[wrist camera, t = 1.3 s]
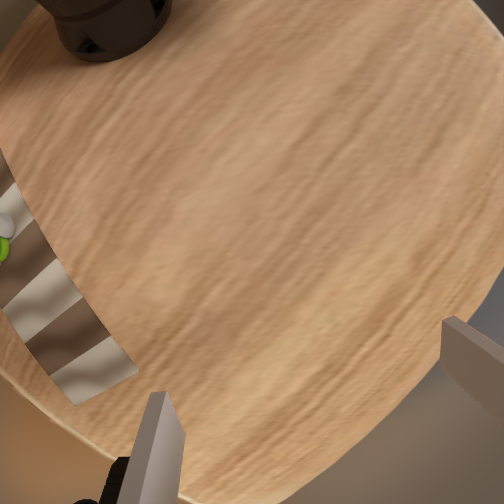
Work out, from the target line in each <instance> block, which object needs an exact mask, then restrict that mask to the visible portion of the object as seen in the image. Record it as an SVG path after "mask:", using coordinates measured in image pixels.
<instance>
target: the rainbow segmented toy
mask: <svg viewBox="0 0 504 504" xmlns="http://www.w3.org/2000/svg"><path fill="white" fill-rule="evenodd" d="M14 232H15V224H14V221H13V219H12V218H11V217H10V216H9V215H8V214H6V213H0V265H1V262H2V261H4V260H5V259H6V258H7V256H8V253H9V241H8V238H11V237H12V236H13V235H14Z"/></svg>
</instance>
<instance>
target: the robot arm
mask: <svg viewBox="0 0 504 504" xmlns="http://www.w3.org/2000/svg"><path fill="white" fill-rule="evenodd" d="M36 1H37V2H38V3H39V4H40V5H41V6H42V7H43V8H45V9H46V10H47V11H48V12H49V13H50V14H51V15H52V16H53V17H54V20H55V24H56V27H57V31H58V34H59V37H60V40H61V42H62V43H63V45H64V46H65V47H66V48H67V49H68V50H69V51H70V52H71V53H72V54H74V55H75V56H76V57H78V58H80V59H82V60H85V61H90V62H106V61H111V60H115V59H119V58H121V57H124V56H126V55H129V54H131V53H133V52H134V51H136V50H138V49H139V48H141V47H142V46H144V45H145V44H146V43H148V42H149V41H150V40H151V39H152V38H153V37H154V36H155V35H156V34H157V33H158V32H159V31H160V30H161V28H162V27H163V26H164V24H165V22H166V21H167V19H168V17H169V14H170V11H171V7H172V0H36ZM439 367H440V368H442V369H443V370H444V371H445V372H446V373H447V374H448V375H449V376H450V377H451V378H452V379H453V380H454V381H455V382H456V383H457V384H459V385H460V386H461V387H462V388H463V389H464V390H465V391H466V392H467V393H468V394H469V395H470V396H471V397H472V398H473V399H474V400H475V401H476V402H477V403H479V404H480V405H481V406H482V407H483V408H484V409H485V410H486V411H487V412H488V413H489V414H490V415H491V416H492V417H493V418H494V419H495V420H496V421H497V422H498V423H499V424H500V425H501V426H502V427H503V428H504V348H502V347H501V346H499V345H498V344H496V343H495V342H494V341H492V340H491V339H489V338H488V337H486V336H485V335H483V334H481V333H480V332H478V331H477V330H475V329H474V328H472V327H471V326H469V325H468V324H466V323H465V322H463V321H462V320H460V319H458V318H457V317H455V316H451V317H449V318H446V319H444V320H442V333H441V350H440V363H439ZM185 435H186V434H185V432H184V430H183V427H182V425H181V423H180V421H179V419H178V416H177V414H176V412H175V410H174V407H173V405H172V403H171V400H170V398H169V396H168V393H167V391H162V392H154V393H151V394H150V397H149V400H148V403H147V406H146V409H145V412H144V415H143V418H142V421H141V424H140V427H139V430H138V434H137V437H136V440H135V443H134V446H133V450H132V453H131V456H130V457H118V459H117V460H116V461H115V462H114V463H113V464H112V466H111V468H110V471H109V474H108V476H109V477H107V480H106V485H105V486H104V489H103V492H102V495H101V498H100V501H99V504H177V498H178V489H179V481H180V473H181V465H182V457H183V450H184V442H185ZM74 504H98V503H97V502H96V501H93V500H91V499H83V500H79V501H77V502H76V503H74Z"/></svg>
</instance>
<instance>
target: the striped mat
mask: <svg viewBox="0 0 504 504" xmlns="http://www.w3.org/2000/svg"><path fill="white" fill-rule="evenodd" d="M0 213H6V214H8V215H9V216H10V217H11V218H12V219H13V221H14V224H15V232H14V235H13V236H12V237H11V238H8V241H9V253H8V256H7V258H6V259H5V260H4V261H2V262H1V265H0V308H1V309H2V311H3V312H4V314H5V315H6V317H7V319H8V320H9V322H10V323H11V325H12V326H13V328H14V329H15V331H16V332H17V334H18V335H19V336H20V338H21V339H22V341H23V342H24V344H25V345H26V346H27V348H28V349H29V350H30V352H31V353H32V355H33V356H34V357H35V359H36V360H37V361H38V362H39V364H40V365H41V366H42V368H43V369H44V370H45V371H46V373H47V374H48V375H49V376H50V378H51V379H52V380H53V381H54V382H55V384H56V385H57V386H58V387H59V388H60V390H61V391H62V392H63V393H64V394H65V395H66V396H67V398H68V399H69V400H70V401H71V402H72V403H73V404H74V405H75V406H77V405H79V404H81V403H82V402H84V401H86V400H88V399H90V398H92V397H94V396H95V395H97V394H99V393H101V392H103V391H105V390H106V389H108V388H110V387H112V386H114V385H116V384H117V383H119V382H121V381H123V380H125V379H126V378H128V377H130V376H132V375H133V374H135V373H137V372H139V369H138V368H137V367H136V365H135V364H134V363H133V362H132V361H131V359H130V358H129V357H128V356H127V355H126V353H125V352H124V351H123V350H122V348H121V347H120V346H119V345H118V343H117V342H116V341H115V340H114V338H113V337H112V336H111V334H110V333H109V332H108V331H107V329H106V328H105V327H104V325H103V324H102V323H101V321H100V320H99V319H98V317H97V316H96V314H95V313H94V312H93V310H92V309H91V308H90V306H89V305H88V303H87V302H86V301H85V299H84V298H83V296H82V295H81V293H80V292H79V290H78V289H77V287H76V286H75V285H74V283H73V282H72V280H71V278H70V277H69V275H68V274H67V272H66V271H65V269H64V268H63V266H62V265H61V263H60V261H59V260H58V258H57V257H56V255H55V253H54V252H53V250H52V248H51V247H50V245H49V243H48V242H47V240H46V238H45V237H44V235H43V233H42V231H41V230H40V228H39V226H38V224H37V222H36V221H35V219H34V217H33V215H32V213H31V211H30V210H29V208H28V206H27V204H26V202H25V200H24V198H23V196H22V194H21V192H20V190H19V188H18V186H17V184H16V182H15V180H14V178H13V176H12V174H11V171H10V169H9V167H8V165H7V163H6V160H5V158H4V156H3V154H2V151H1V149H0Z"/></svg>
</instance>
